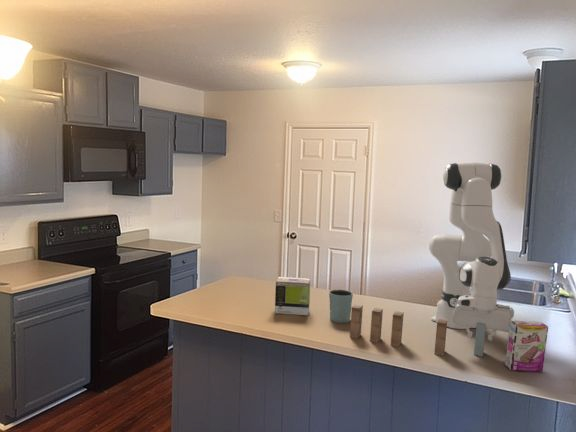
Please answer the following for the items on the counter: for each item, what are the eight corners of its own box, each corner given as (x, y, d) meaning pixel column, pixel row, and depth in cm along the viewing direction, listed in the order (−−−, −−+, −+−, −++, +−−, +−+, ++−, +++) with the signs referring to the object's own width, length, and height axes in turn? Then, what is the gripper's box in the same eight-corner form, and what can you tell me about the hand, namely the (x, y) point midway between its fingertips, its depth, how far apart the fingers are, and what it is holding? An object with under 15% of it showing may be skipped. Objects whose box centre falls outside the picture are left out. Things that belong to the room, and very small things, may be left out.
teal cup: (350, 324, 206) (351, 296, 205) (326, 321, 208) (327, 294, 207) (351, 317, 216) (353, 290, 215) (329, 314, 218) (330, 288, 217)
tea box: (309, 309, 224) (311, 277, 223) (308, 316, 214) (309, 283, 213) (276, 307, 226) (278, 275, 224) (274, 313, 216) (275, 280, 214)
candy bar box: (511, 371, 166) (516, 324, 164) (504, 365, 171) (509, 320, 169) (543, 372, 166) (549, 326, 164) (535, 366, 171) (540, 321, 169)
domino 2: (373, 337, 192) (375, 307, 191) (380, 338, 191) (382, 308, 190) (369, 341, 188) (372, 310, 186) (377, 342, 187) (379, 312, 185)
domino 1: (353, 333, 196) (355, 304, 194) (360, 334, 194) (362, 305, 193) (349, 337, 191) (351, 307, 190) (357, 338, 190) (359, 308, 188)
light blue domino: (474, 350, 184) (477, 319, 182) (483, 352, 182) (486, 320, 181) (473, 354, 179) (476, 323, 178) (482, 356, 178) (485, 324, 176)
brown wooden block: (436, 349, 183) (438, 318, 181) (444, 351, 181) (447, 319, 180) (434, 354, 178) (437, 322, 177) (442, 355, 177) (445, 323, 175)
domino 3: (393, 341, 189) (395, 310, 188) (401, 342, 188) (403, 312, 186) (390, 345, 184) (392, 314, 183) (398, 346, 183) (400, 315, 182)
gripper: (514, 304, 177) (510, 341, 179) (455, 295, 185) (452, 331, 187) (514, 309, 171) (510, 347, 173) (453, 299, 180) (450, 336, 181)
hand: (479, 338), depth 180 cm, fingers open, 5 cm apart
